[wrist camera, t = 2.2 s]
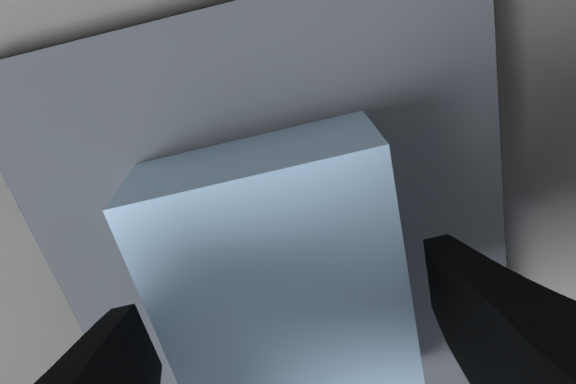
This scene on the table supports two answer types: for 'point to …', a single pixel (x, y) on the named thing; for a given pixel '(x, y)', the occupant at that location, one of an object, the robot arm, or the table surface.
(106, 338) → the robot arm
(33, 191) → the mat
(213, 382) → the block
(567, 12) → the table surface
